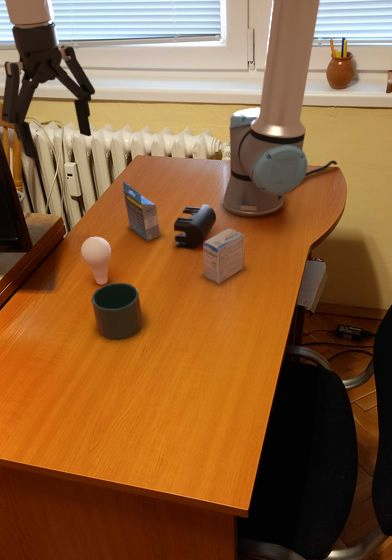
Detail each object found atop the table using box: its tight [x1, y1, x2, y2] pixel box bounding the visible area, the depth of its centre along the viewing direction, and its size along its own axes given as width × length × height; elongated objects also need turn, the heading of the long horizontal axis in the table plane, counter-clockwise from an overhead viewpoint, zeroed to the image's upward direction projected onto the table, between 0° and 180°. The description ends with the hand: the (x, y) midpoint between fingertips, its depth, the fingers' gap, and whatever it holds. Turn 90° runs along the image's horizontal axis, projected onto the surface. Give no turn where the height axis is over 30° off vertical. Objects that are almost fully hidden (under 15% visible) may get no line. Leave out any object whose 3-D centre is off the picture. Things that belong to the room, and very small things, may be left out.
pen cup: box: [91, 282, 144, 341], centre depth 105 cm, size 9×9×7 cm
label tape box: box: [122, 180, 161, 242], centre depth 130 cm, size 9×4×12 cm, turn 34°
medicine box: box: [202, 227, 245, 285], centre depth 116 cm, size 8×4×9 cm, turn 134°
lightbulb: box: [80, 236, 112, 286], centre depth 115 cm, size 6×6×11 cm
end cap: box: [173, 203, 217, 250], centre depth 128 cm, size 10×7×7 cm
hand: (59, 145), depth 110 cm, fingers open, 13 cm apart
